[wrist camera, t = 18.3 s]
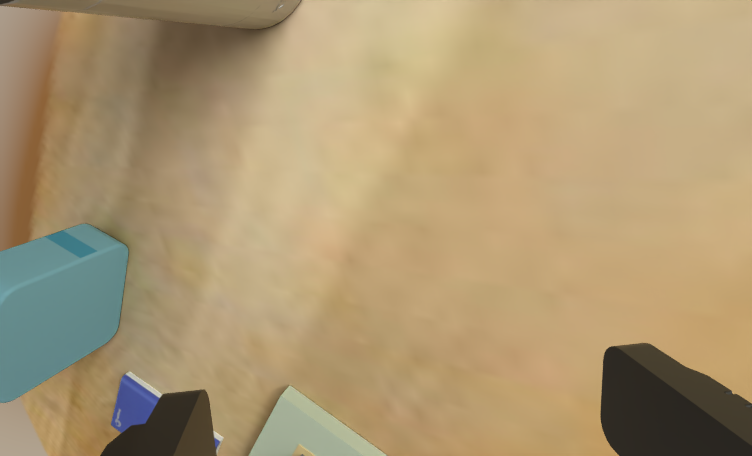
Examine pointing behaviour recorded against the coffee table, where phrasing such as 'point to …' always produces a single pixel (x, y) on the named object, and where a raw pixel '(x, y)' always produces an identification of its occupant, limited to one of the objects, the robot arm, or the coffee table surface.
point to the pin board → (307, 431)
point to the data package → (57, 304)
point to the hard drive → (138, 404)
